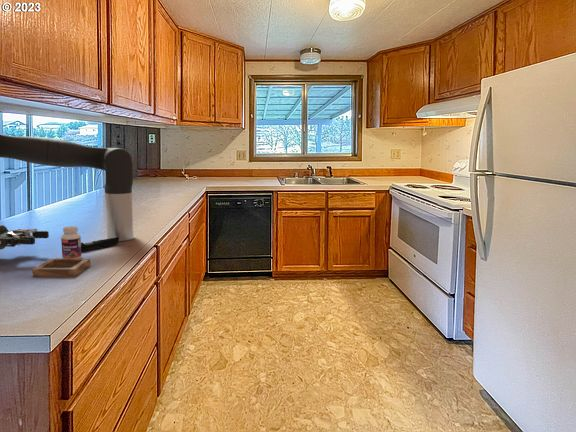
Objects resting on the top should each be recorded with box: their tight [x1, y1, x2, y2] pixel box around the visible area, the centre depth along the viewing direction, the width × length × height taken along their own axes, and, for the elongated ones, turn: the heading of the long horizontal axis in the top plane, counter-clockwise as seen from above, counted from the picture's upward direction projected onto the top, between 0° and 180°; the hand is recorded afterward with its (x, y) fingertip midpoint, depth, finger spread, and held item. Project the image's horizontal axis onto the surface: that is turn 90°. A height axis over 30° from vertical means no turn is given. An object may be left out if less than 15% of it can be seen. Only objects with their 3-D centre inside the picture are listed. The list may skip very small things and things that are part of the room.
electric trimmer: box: [81, 237, 120, 254], centre depth 155 cm, size 4×16×3 cm, turn 143°
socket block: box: [32, 258, 91, 277], centre depth 128 cm, size 11×11×2 cm
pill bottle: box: [60, 225, 82, 259], centre depth 141 cm, size 5×5×10 cm
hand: (41, 237), depth 140 cm, fingers open, 8 cm apart
